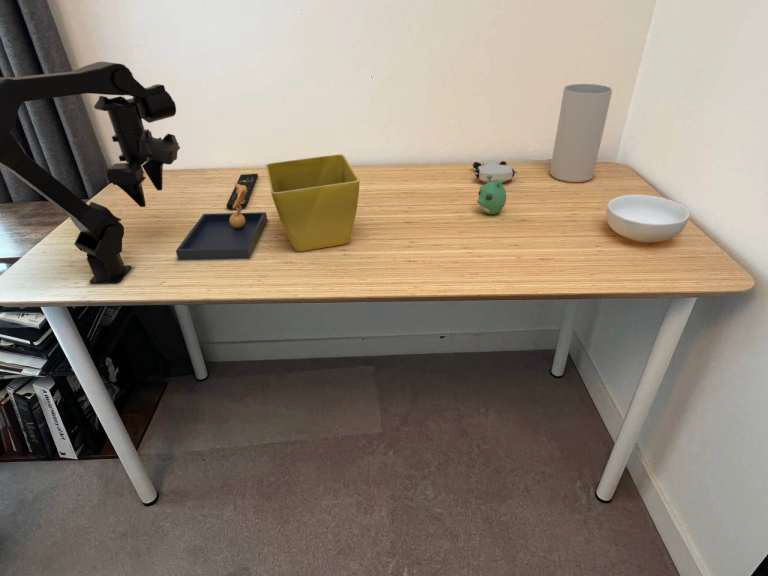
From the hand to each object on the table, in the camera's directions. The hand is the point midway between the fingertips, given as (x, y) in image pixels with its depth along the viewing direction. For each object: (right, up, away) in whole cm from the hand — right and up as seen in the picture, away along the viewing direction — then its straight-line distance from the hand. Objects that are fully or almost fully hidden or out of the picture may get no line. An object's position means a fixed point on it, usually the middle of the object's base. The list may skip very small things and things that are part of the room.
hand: (151, 198), depth 108 cm
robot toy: (+86, +13, +38) cm, 95 cm away
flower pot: (+36, -8, +10) cm, 39 cm away
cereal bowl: (+113, -8, +5) cm, 114 cm away
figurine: (+17, -5, +14) cm, 22 cm away
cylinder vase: (+110, +14, +38) cm, 117 cm away
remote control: (+11, +8, +34) cm, 37 cm away
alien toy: (+81, -1, +18) cm, 82 cm away
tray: (+13, -8, +10) cm, 19 cm away
